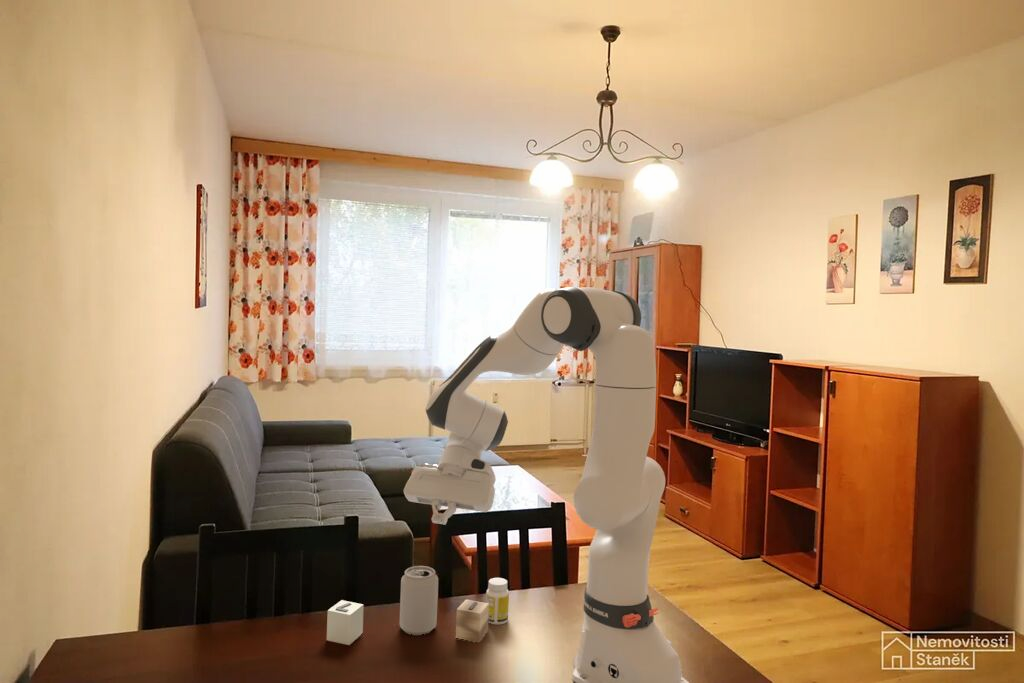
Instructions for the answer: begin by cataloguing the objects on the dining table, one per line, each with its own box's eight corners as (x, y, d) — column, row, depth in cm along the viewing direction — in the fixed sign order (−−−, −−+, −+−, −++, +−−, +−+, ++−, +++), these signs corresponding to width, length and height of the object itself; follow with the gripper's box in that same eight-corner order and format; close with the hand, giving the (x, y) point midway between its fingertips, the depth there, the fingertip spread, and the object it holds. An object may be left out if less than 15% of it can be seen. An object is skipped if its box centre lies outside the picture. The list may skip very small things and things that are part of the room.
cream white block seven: (362, 633, 135) (363, 603, 135) (349, 645, 130) (350, 613, 130) (340, 629, 137) (341, 599, 136) (326, 640, 132) (327, 609, 132)
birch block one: (487, 632, 138) (488, 602, 138) (479, 643, 133) (480, 612, 133) (464, 627, 140) (466, 598, 139) (455, 638, 135) (456, 608, 135)
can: (437, 636, 135) (439, 577, 135) (399, 637, 134) (401, 578, 134) (435, 619, 143) (437, 563, 142) (399, 620, 141) (401, 564, 141)
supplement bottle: (509, 616, 146) (510, 577, 145) (506, 626, 141) (508, 586, 141) (486, 614, 146) (488, 575, 146) (483, 624, 141) (485, 584, 141)
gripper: (412, 455, 155) (390, 508, 146) (496, 465, 149) (478, 521, 140) (420, 470, 159) (399, 523, 150) (502, 480, 153) (485, 536, 144)
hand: (438, 522), depth 145 cm, fingers closed
